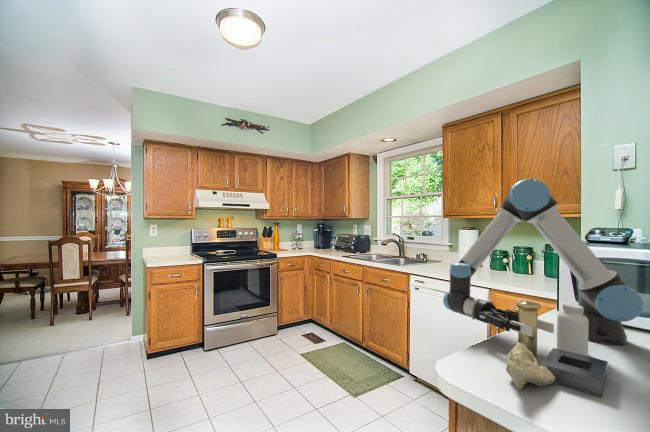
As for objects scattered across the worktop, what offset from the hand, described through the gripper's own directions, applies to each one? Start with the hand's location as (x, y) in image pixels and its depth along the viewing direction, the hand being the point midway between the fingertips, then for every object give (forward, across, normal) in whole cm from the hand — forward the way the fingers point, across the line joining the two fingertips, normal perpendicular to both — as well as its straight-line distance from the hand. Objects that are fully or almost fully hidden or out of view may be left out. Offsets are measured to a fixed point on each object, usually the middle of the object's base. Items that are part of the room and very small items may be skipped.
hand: (542, 330), depth 94 cm
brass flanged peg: (-5, 0, -9) cm, 10 cm away
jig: (+10, +3, -9) cm, 14 cm away
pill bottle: (-1, -16, -9) cm, 18 cm away
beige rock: (+9, +20, -9) cm, 24 cm away
